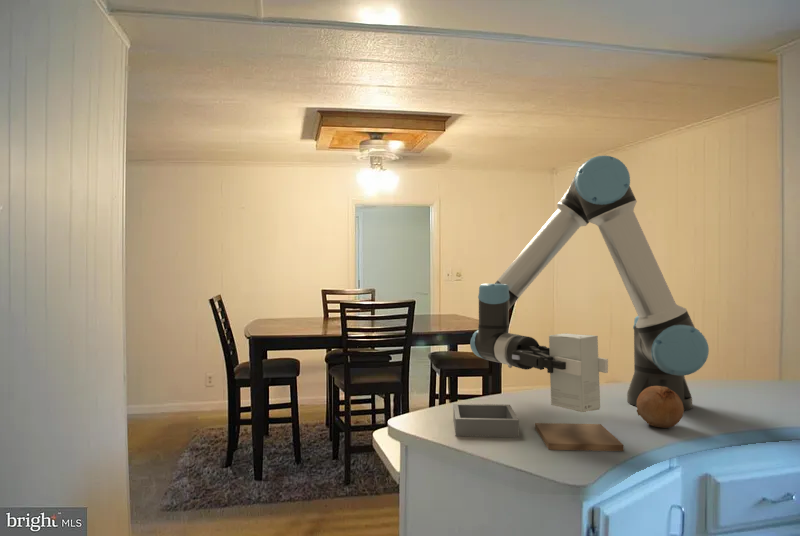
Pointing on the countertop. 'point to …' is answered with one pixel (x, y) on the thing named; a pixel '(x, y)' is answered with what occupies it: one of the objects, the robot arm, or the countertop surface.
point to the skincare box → (573, 388)
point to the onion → (660, 406)
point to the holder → (485, 420)
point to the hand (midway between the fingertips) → (593, 367)
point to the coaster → (577, 437)
